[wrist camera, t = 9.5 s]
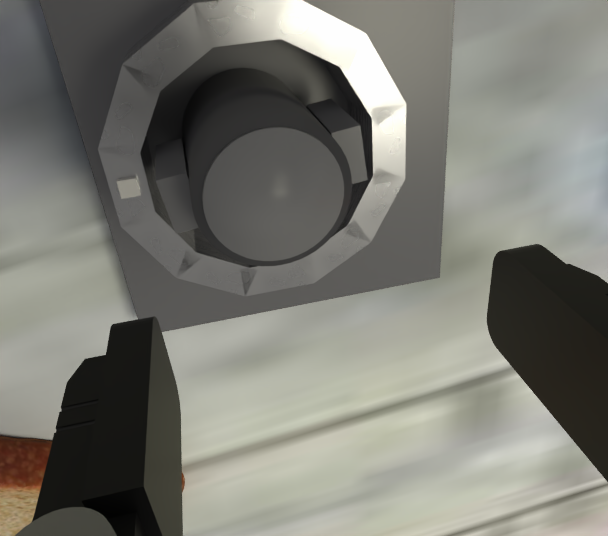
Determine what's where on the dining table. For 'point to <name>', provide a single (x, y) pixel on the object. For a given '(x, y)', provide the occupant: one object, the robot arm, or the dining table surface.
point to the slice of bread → (22, 480)
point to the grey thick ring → (186, 51)
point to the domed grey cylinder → (260, 168)
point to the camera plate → (308, 89)
